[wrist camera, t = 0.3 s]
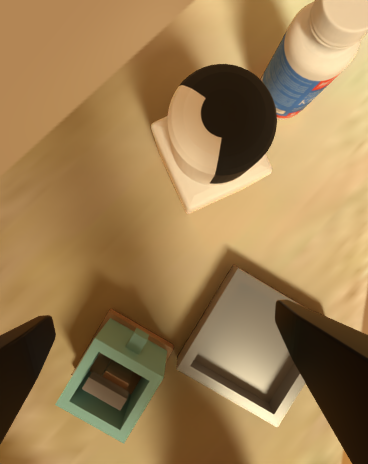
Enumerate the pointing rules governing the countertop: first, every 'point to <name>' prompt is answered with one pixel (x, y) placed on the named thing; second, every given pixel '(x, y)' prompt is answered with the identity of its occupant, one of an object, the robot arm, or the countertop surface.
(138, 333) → the ring
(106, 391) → the brown peg stand
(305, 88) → the pill bottle
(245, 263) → the countertop surface
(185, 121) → the labeled white jar
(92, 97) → the countertop surface
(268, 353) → the tray
